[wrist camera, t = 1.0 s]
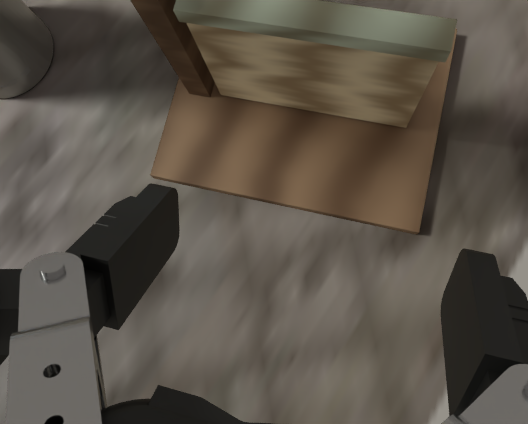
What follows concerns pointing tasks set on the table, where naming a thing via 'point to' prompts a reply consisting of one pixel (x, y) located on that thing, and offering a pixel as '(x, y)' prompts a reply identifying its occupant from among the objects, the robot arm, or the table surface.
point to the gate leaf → (320, 54)
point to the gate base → (291, 143)
